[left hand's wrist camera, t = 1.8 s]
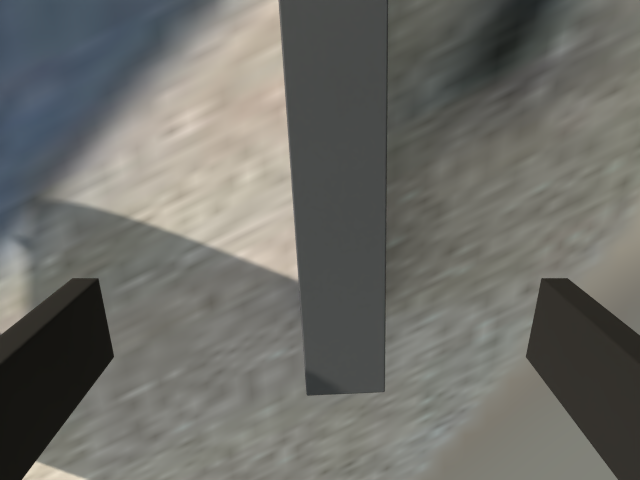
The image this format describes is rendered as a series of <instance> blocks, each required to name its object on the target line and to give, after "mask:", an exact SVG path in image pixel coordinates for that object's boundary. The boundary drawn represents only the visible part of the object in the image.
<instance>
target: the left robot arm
mask: <svg viewBox="0 0 640 480" xmlns="http://www.w3.org/2000/svg"><path fill="white" fill-rule="evenodd" d="M113 358H114V354H113V349H112V344H111V339H110V334H109V329H108V324H107V319H106V314H105V309H104V304H103V299H102V294H101V289H100V284H99V279H98V278H72V279H71V280H70V281H69V282H67V283H66V284H65V285H64V286H62V287H61V288H60V289H58V290H57V291H56V292H55V293H53V294H52V295H51V296H50V297H48V298H47V299H46V300H45V301H43V302H42V303H41V304H40V305H38V306H37V307H36V308H34V309H33V310H32V311H31V312H29V313H28V314H27V315H26V316H24V317H23V318H22V319H21V320H19V321H18V322H17V323H15V324H14V325H13V326H12V327H10V328H9V329H8V330H7V331H5V332H4V333H3V334H2V335H0V480H22V479H23V477H24V476H25V475H26V473H27V472H28V471H29V469H30V468H31V467H32V465H33V464H34V463H35V461H36V460H37V459H38V457H39V456H40V455H41V453H42V452H43V451H44V449H45V448H46V447H47V445H48V444H49V443H50V441H51V440H52V439H53V437H54V436H55V435H56V433H57V432H58V431H59V429H60V428H61V427H62V425H63V424H64V423H65V421H66V420H67V419H68V417H69V416H70V415H71V413H72V412H73V411H74V409H75V408H76V407H77V405H78V404H79V403H80V402H81V400H82V399H83V398H84V396H85V395H86V394H87V392H88V391H89V390H90V388H91V387H92V386H93V384H94V383H95V382H96V380H97V379H98V378H99V376H100V375H101V374H102V372H103V371H104V370H105V368H106V367H107V366H108V364H109V363H110V362H111V360H112V359H113ZM526 358H527V359H528V360H529V362H530V363H531V364H532V366H533V367H534V368H535V370H536V371H537V372H538V373H539V375H540V376H541V378H542V379H543V380H544V381H545V383H546V384H547V386H548V387H549V388H550V390H551V391H552V392H553V393H554V395H555V396H556V397H557V399H558V400H559V402H560V403H561V404H562V406H563V407H564V408H565V409H566V411H567V412H568V413H569V415H570V416H571V417H572V419H573V420H574V421H575V423H576V424H577V425H578V427H579V428H580V429H581V431H582V432H583V433H584V435H585V436H586V437H587V439H588V440H589V441H590V443H591V444H592V445H593V447H594V448H595V449H596V451H597V452H598V453H599V455H600V456H601V457H602V459H603V460H604V461H605V463H606V464H607V465H608V467H609V468H610V469H611V471H612V472H613V473H614V475H615V476H616V477H617V479H618V480H640V335H638V334H637V333H636V332H635V331H633V330H632V329H631V328H630V327H628V326H627V325H626V324H624V323H623V322H622V321H621V320H619V319H618V318H617V317H616V316H614V315H613V314H612V313H611V312H609V311H608V310H607V309H606V308H604V307H603V306H602V305H600V304H599V303H598V302H597V301H595V300H594V299H593V298H592V297H590V296H589V295H588V294H587V293H585V292H584V291H583V290H582V289H580V288H579V287H578V286H576V285H575V284H574V283H573V282H571V281H570V280H569V279H568V278H542V279H541V284H540V289H539V294H538V299H537V304H536V309H535V314H534V319H533V324H532V329H531V334H530V339H529V344H528V349H527V354H526Z"/></svg>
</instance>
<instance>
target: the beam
mask: <svg viewBox="0 0 640 480" xmlns="http://www.w3.org/2000/svg"><path fill="white" fill-rule="evenodd" d="M279 12H280V26H281V40H282V54H283V68H284V82H285V96H286V110H287V124H288V138H289V152H290V166H291V180H292V194H293V208H294V222H295V237H296V251H297V265H298V279H299V293H300V307H301V321H302V335H303V349H304V363H305V377H306V391H307V395H329V394H351V393H373V392H384V391H385V299H386V181H387V63H388V0H279Z"/></svg>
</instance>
